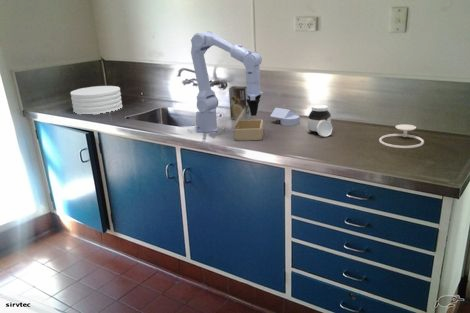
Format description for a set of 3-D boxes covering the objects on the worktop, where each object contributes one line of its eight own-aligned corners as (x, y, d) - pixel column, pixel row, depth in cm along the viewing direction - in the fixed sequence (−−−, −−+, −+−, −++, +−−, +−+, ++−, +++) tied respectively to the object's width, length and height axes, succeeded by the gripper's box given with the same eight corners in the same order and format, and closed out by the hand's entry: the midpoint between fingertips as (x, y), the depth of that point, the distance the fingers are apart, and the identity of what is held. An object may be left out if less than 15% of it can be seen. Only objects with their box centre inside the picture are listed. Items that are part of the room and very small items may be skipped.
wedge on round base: (270, 123, 211) (292, 127, 203) (269, 109, 209) (292, 112, 201) (281, 119, 217) (303, 122, 209) (281, 105, 215) (303, 109, 207)
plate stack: (63, 112, 256) (59, 93, 252) (100, 102, 278) (97, 84, 275) (96, 116, 242) (93, 96, 238) (132, 106, 264) (129, 87, 260)
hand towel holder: (374, 135, 171) (386, 122, 187) (374, 146, 172) (386, 132, 189) (421, 140, 162) (429, 126, 179) (420, 151, 164) (428, 136, 180)
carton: (235, 140, 186) (234, 129, 185) (238, 130, 201) (238, 120, 200) (261, 140, 185) (261, 129, 184) (263, 130, 200) (263, 119, 198)
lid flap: (234, 128, 186) (233, 128, 186) (237, 120, 199) (236, 119, 199) (241, 117, 184) (240, 116, 184) (244, 109, 197) (243, 109, 197)
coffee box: (251, 117, 223) (250, 86, 218) (247, 120, 218) (245, 88, 212) (234, 116, 227) (233, 85, 221) (230, 119, 221) (228, 88, 216)
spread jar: (318, 128, 198) (319, 103, 195) (340, 132, 191) (341, 106, 187) (302, 134, 191) (302, 108, 187) (324, 139, 183) (325, 111, 179)
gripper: (261, 84, 178) (262, 117, 182) (263, 78, 192) (264, 109, 196) (244, 85, 179) (246, 117, 183) (247, 79, 192) (248, 109, 197)
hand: (254, 113), depth 190 cm, fingers open, 7 cm apart
